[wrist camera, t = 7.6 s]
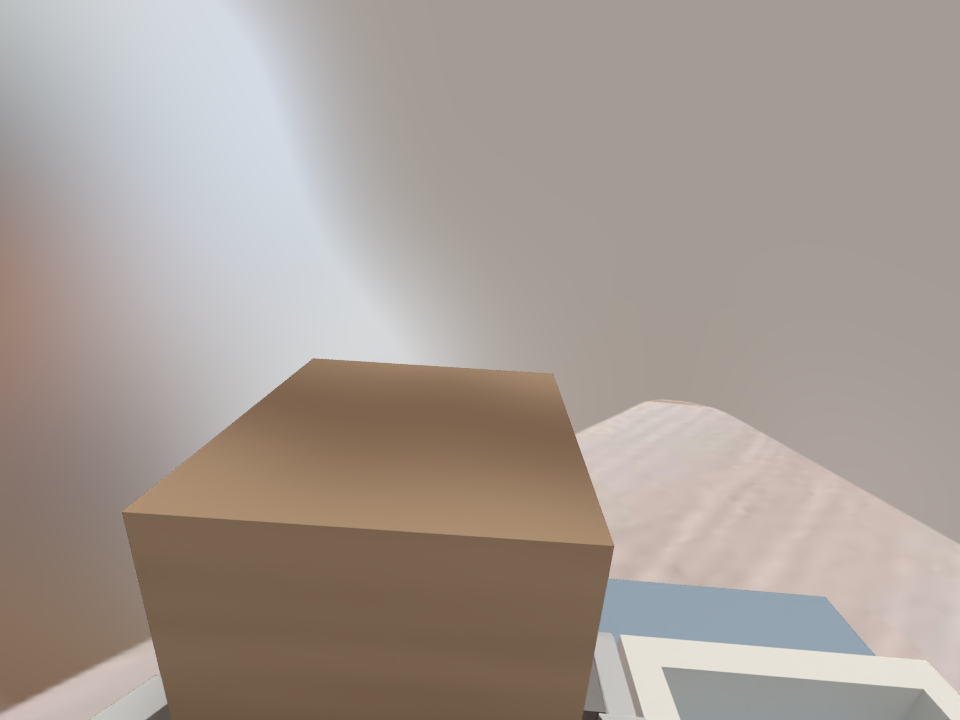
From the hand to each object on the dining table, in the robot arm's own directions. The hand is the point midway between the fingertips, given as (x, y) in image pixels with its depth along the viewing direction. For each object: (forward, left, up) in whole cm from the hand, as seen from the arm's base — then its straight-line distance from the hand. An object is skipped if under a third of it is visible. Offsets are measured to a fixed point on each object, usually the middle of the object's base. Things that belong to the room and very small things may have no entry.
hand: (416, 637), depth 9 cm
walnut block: (-1, 0, -7) cm, 8 cm away
